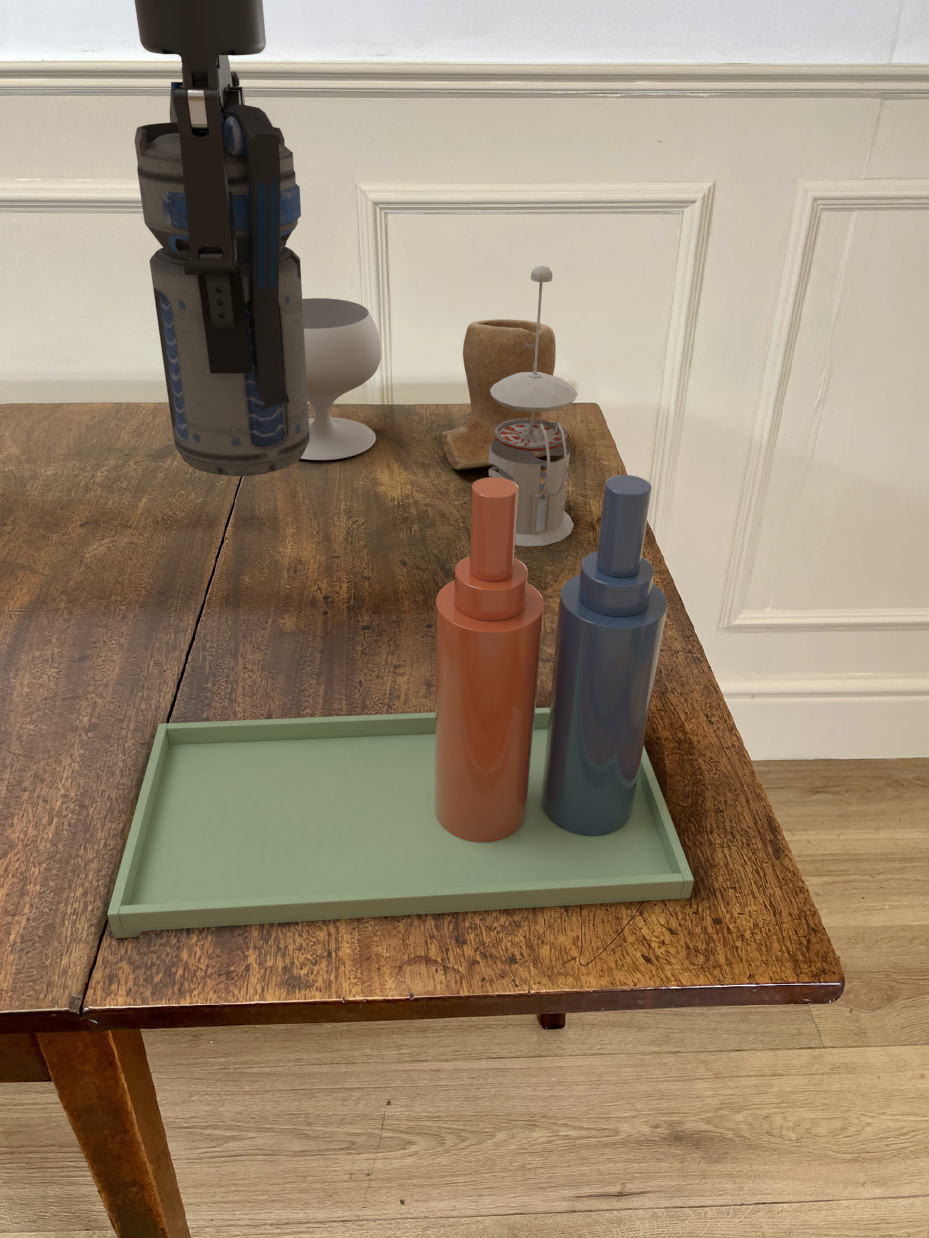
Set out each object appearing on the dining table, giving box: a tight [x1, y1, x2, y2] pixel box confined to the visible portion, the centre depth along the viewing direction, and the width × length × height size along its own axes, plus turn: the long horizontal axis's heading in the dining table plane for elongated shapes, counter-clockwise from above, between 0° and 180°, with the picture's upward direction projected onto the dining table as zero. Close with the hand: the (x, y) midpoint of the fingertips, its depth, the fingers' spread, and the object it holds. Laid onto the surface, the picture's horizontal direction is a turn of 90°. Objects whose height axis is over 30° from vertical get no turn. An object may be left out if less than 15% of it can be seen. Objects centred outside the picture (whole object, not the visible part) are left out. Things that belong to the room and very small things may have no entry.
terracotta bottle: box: [434, 476, 545, 842], centre depth 55 cm, size 6×6×23 cm
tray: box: [106, 707, 695, 939], centre depth 60 cm, size 33×16×2 cm, turn 95°
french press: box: [488, 265, 579, 547], centre depth 87 cm, size 10×12×25 cm
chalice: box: [300, 297, 382, 461], centre depth 107 cm, size 14×14×15 cm
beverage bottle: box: [133, 81, 310, 477], centre depth 66 cm, size 10×13×25 cm
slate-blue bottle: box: [541, 474, 668, 836], centre depth 55 cm, size 6×6×23 cm
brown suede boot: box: [439, 318, 568, 471], centre depth 105 cm, size 15×12×15 cm
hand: (238, 345), depth 68 cm, fingers closed on beverage bottle, 10 cm apart
